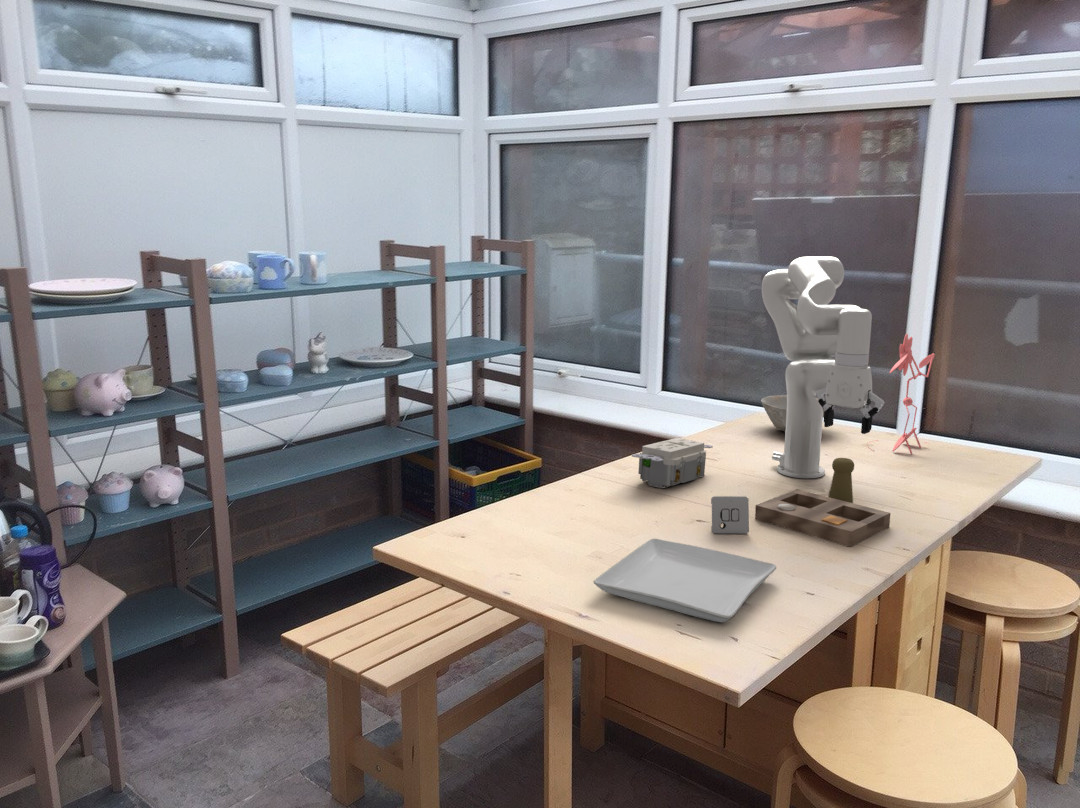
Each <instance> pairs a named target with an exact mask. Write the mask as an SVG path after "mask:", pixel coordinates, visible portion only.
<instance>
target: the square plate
mask: <svg viewBox="0 0 1080 808" xmlns="http://www.w3.org/2000/svg"><path fill="white" fill-rule="evenodd" d="M776 569H777V565H776V564H774V563H770V562H767V561H762V560H758V559H753V558H749V557H746V556H742V555H736V554H734V553H733V554H732V553H728V552H724V551H720V550H715V549H710V548H707V547H701V546H696V545H691V544H686V543H680V542H675V541H670V540H665V539H659V538H650V539H648V540H647V541H646V542H644V543H642V544H641V545H639V546H638V547H637V548H635V549H634V550H633V551H632V552H630V553H628V554H627V555H625V556H624V557H623V558H622V559H620V560H619V561H618V562H616V563H615V564H614V565H612V566H611V567H610V568H608V569H607V570H606V571H604V572H603V573H602V574H600V575H599V576H598V577H596V578H595V579H594V580H593V581H592V582H593V584H594V585H595V586H596V587H597V588H598V589H600V590H602V591H603V592H605V593H607V594H611V595H614V596H618V597H621V598H626V599H628V600H632V601H634V602H638V603H643V604H647V605H650V606H654V607H657V608H658V607H659V608H662V609H665V610H670V611H673V612H678V613H681V614H685V615H688V616H691V617H694V618H695V617H696V618H699V619H703V620H707V621H712V622H717V623H726V622H728V621H729V620H730V619H731V618H732V617H734V616H735V615H736V614H737V612H738V611H739V610H740V609H741V607H742V606H743V604H744V603H745V602H746V601H747V599H748V598H749V596H750V595H752V594H753V593H754V591H755V590H756V589H758V588H759V587H760V586H761V585H762V584H763V583H764V582H765V581H766V580H767V578H769V577H770V576H771V575H772V574H773V573H774V572H775V571H776Z"/></svg>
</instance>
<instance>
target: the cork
mask: <svg viewBox="0 0 1080 808" xmlns="http://www.w3.org/2000/svg"><path fill="white" fill-rule="evenodd" d="M831 464H832V465H831V466H832V470H833V475H832V480H831V484H830V489H829V493H828V497H830V498H834V499H838V500H842V501H846V502H850V503H854V495H853V494H854V493H853V480H852V479H853V478H852V477H853V476H852V475H853V474H852V473H853V472H854V470H855V463H854V460H852V459H850V458H847V457H837V458H834V459H833V460H832V463H831Z"/></svg>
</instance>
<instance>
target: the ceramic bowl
mask: <svg viewBox="0 0 1080 808" xmlns="http://www.w3.org/2000/svg"><path fill="white" fill-rule="evenodd" d="M816 399H817V401H818V398H817V397H816ZM761 404H762V407H763V409H764V411H765V413H766V415H767V416H768V418H769V420H770V422H771V424H772V425H773V426H774V427H775V428H776V429H778V430H779V431H782V432H784V433H785V431H786V414H787V394H783V395H782V394H781V395H778V394H777V395H768V396H764V397H762V398H761ZM821 407H822V406H821ZM823 418H824V411H823Z"/></svg>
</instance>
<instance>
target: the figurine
mask: <svg viewBox="0 0 1080 808" xmlns="http://www.w3.org/2000/svg"><path fill="white" fill-rule="evenodd" d="M903 338H904V339H903V343H899V352H898V353H899V360H898V361H897V362H896V363H895V364H894V365H893V366H892V367H891V369H890V371H889V372H888V373H889V374H891V373H893V372H894V371H895V370H896V369H898V371H899V372H901V371H902V375H903V376H906V375H907V372H908V370H909V369H910V370H911V374H912V377H910V378H908V380H907V381H906V394H905V395H906V396H905V397H904V398H903V400H902V403H903V405H904V406H905V408H906V411H907V419H906V422H905V427H904V430H903V434H902V435H901V436H900V437H899V438H898V439H897V441H896V443H895V444H894V446H893V448H892V452H895V451H896V450H897V449H899V447H900V446H901V445H902V444H903V443H906V446H907V448H908V450H909V451H908V452H910V453H909V454H910V455H913V451H912V449H911V445H910V444H909V441H908V439H910V437H911V436H912V435H913V434H914V435H913V436H914V437H915V440H916V443H917V445H918V447H919V448H922V445H921V442H920V441H919V438H918V436H917V433H916V430H917V427H915V421H916V417H917V411H918V407H917V406H916V405H915V404H913V399H912V398H911V397H909V388H910V387H909V386H910V381H911V380H916V379H917V378H918V377H919V376H923V377H926V378H929V375H930V372H931V368H932V365H933V361H934V359H935V356H936V354H935V353H931V354H928V355H927V356H926V357H924V358H922V360H920V362H919V363H918V365H917V362H916V361H915V359H914V356H913V351H912V346H913V337H912V336H910V337H909V334H908V333H906V334H905V335H904V337H903ZM912 363H913V364H914V366H915V369H916V371H917V374H915V371H914V369H913V365H912ZM927 365H928V369H927V373H926V374H924V373H923V372H921V371H920V369H922V368H924V367H925V366H927ZM910 406H912V407H914V408H915V411H914V415H913V423H912V428H911V430H910V431H909V432H908V433H907V432H906V431H907V426H908V422H909V420H910V411H909V408H908V407H910ZM875 441H876V442H877V441H879V439H876V440H872V441H869V442H866V444H867V446H866V447H867V448H868V449H869V450H871V451H872V452H875V450H874V449H871V448H870V447H869V444H870V443H873V442H875ZM923 443H924V444H930V443H929V442H925V441H924V442H923Z"/></svg>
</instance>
